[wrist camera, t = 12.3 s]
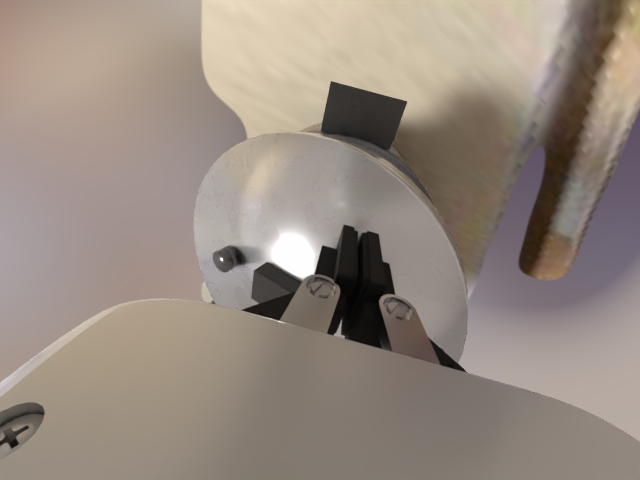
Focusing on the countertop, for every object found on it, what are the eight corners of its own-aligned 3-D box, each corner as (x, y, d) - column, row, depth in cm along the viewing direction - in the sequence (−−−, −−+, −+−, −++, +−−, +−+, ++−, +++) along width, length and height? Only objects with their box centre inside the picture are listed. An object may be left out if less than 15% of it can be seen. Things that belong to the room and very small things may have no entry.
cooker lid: (207, 93, 15) (164, 88, 13) (572, 215, 9) (605, 243, 7) (211, 306, 25) (187, 323, 23) (385, 431, 19) (375, 471, 17)
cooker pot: (278, 70, 24) (217, 50, 14) (454, 117, 24) (524, 131, 14) (257, 257, 36) (217, 320, 26) (373, 289, 36) (379, 365, 26)
